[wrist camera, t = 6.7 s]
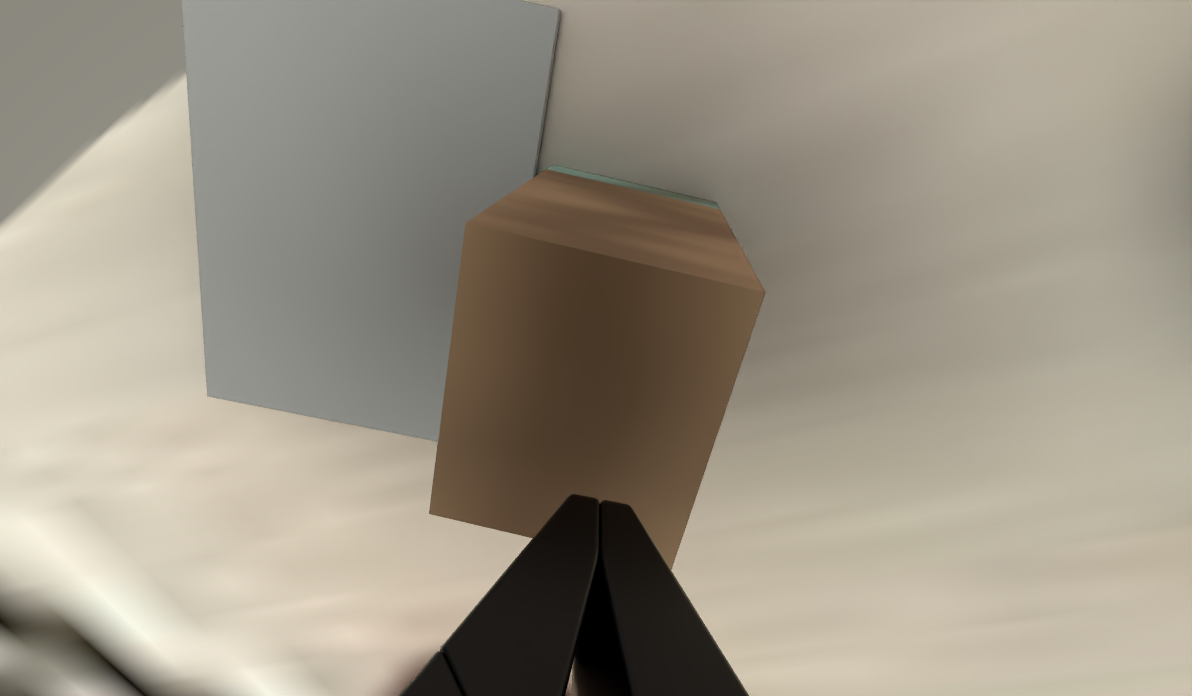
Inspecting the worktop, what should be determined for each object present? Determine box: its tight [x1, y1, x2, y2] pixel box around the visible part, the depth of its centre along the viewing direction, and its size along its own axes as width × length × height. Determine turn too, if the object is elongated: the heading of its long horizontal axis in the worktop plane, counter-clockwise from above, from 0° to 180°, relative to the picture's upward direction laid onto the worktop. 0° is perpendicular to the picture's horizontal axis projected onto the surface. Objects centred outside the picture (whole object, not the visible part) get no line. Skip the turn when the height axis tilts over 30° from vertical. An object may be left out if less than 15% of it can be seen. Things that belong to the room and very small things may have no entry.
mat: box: [182, 0, 561, 442], centre depth 19 cm, size 10×14×1 cm
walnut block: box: [429, 165, 765, 570], centre depth 15 cm, size 5×6×9 cm
